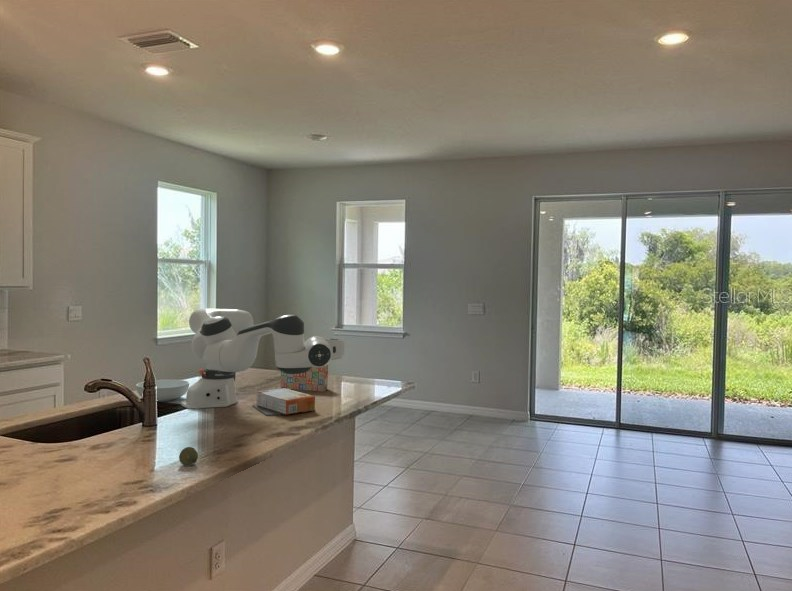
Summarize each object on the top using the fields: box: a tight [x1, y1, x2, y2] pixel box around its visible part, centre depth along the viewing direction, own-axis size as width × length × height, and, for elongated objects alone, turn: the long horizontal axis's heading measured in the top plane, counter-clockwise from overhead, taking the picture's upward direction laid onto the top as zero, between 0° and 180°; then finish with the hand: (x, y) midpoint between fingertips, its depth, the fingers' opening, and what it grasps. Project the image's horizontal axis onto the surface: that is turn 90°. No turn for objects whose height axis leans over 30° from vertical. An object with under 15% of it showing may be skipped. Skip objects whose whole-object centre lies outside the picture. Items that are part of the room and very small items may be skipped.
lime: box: [178, 446, 199, 467], centre depth 166 cm, size 4×5×5 cm
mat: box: [252, 404, 316, 417], centre depth 237 cm, size 20×18×1 cm
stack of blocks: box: [280, 363, 329, 392], centre depth 278 cm, size 21×6×12 cm, turn 82°
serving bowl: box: [135, 379, 190, 403], centre depth 247 cm, size 21×21×7 cm
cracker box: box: [255, 388, 316, 415], centre depth 236 cm, size 14×6×21 cm
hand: (314, 345), depth 210 cm, fingers open, 8 cm apart
